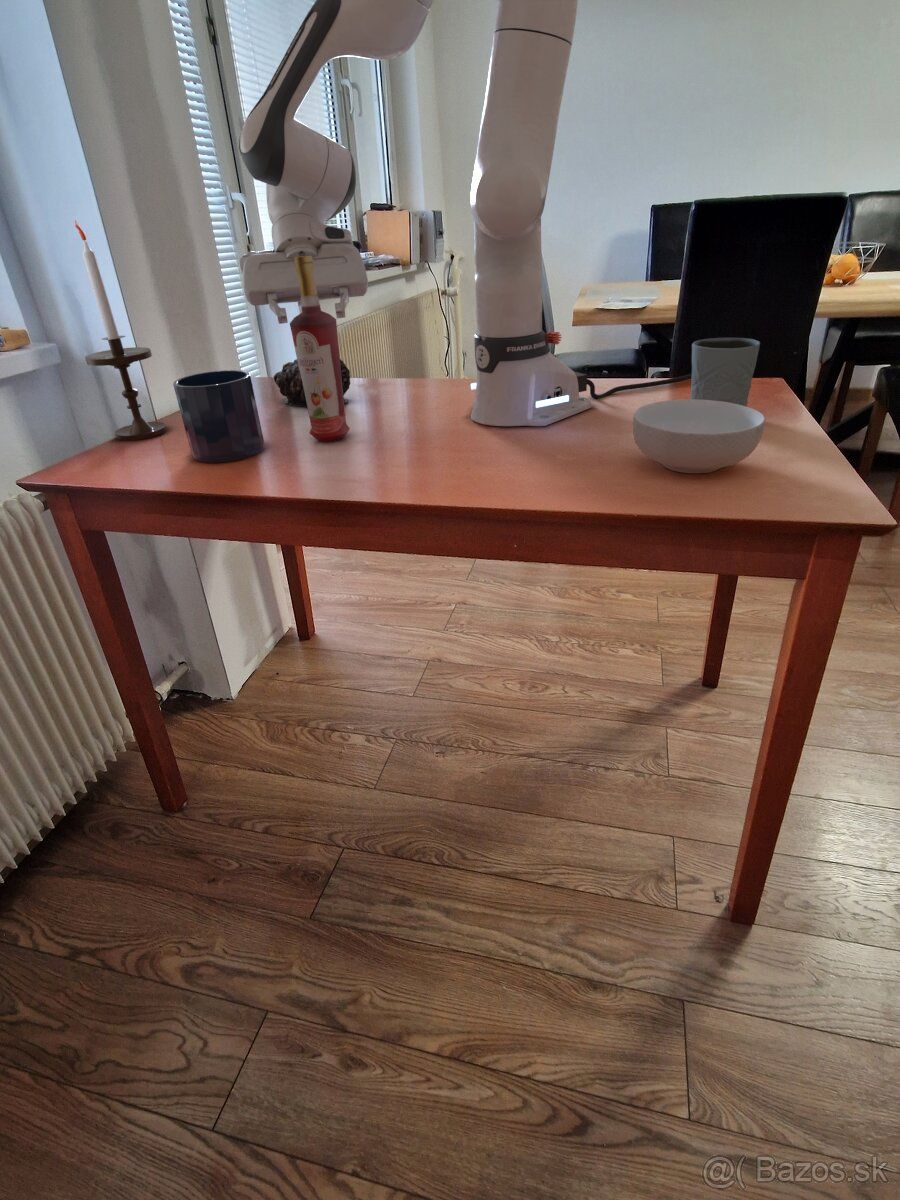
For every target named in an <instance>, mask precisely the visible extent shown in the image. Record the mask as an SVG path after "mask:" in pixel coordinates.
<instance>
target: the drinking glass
mask: <svg viewBox="0 0 900 1200" xmlns="http://www.w3.org/2000/svg"><path fill="white" fill-rule="evenodd" d="M760 345H761V342H760V341H759V340H756V339H754V338H747V337H746V338H745V337H713V338H712V337H711V338H704V339H698V340H695V341H693V342H692V344H691V374H692V379H691V383H690V384H691V385H690V387H691V390H690V399H698V400H712V401H721V402H728V403H733V404H738V405H742V406H746V407H748V399H749V396H750V390H751V389H752V380H753V377H754V373H755V369H756V365H757V361H758V355H759V351H760V348H761V347H760Z"/></svg>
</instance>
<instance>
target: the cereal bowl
mask: <svg viewBox="0 0 900 1200" xmlns="http://www.w3.org/2000/svg"><path fill="white" fill-rule="evenodd" d="M765 424H766V417H765V415H764V414H763V413H762V412H760V411H758V410H757V409H754V408H752V407H748V406H747V407H746V406H742V405H738V404H733V403H728V402H721V401H712V400H698V399H691V398H690V399H689V398H688V399H687V398H686V399H683V398H682V399H670V400H662V401H661V400H660V401H655V402H652V403H648V404H644V405H642V406H640V407H639V408H638V409H636V410H635V412H634V413H633V417H632V435H633V440H634V443H635V444H636V446H637V448H638V449H639V450H640V451H641V453H642V454H644V456H646V457H647V458H649V459H651V460H652V461H654V462H657V463H659V464H661V465H662V466H663V467H664V468H666V469H667V470H670V471H673V472H676V473H677V472H678V473H681V474H682V473H684V474H706V473H707V474H708V473H712V472H715V471H718V470H719V469H722V468H726V467H730V466H732V465H736V464H738V463H740V462H741V461H743V460H745V459H746V458H748V457H749V456H750V455H751V454H752V453H753V452H754V451H755V450H756V448H757V447H758V445H759V443H760V442H761V439H762V436H763V434H764V429H765Z"/></svg>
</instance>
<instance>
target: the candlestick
mask: <svg viewBox="0 0 900 1200" xmlns="http://www.w3.org/2000/svg"><path fill="white" fill-rule="evenodd" d="M74 223H75V225H74V226H75V228H76V230H77V231H78V234H79V235H80V238H81V240H82V241H83V242H82V243H83V251H82V252H81V255H82V258H83V261H84V264H85V268H86V270H87V274H88V277H89V278H88V279H89V281H90V284H91V287H92V291H93V294H94V297H95V300H96V303H97V308H98V311H99V313H100V317H101V320H102V323H103V327H104V331H105V332H106V337H102V338H101V340H102V341H107V342H108V346H109V349H106V350H102V351H98V352H94V353H90V354H88V355H86V356H84V359H85V363H86V364H87V365H88V366H93V367H94V366H95V367H96V366H97V367H100V366H101V367H102V366H103V367H105V366H109V367H113V369H115V370H116V369H117V370H118V372H119V374H120V377H121V380H122V381H121V382H122V384H123V387H124V389H123V390H122V391H121V395H122V396H123V397H124V399H126V400H127V403H128V405H127V406H126V409H128V410H130V411H131V414H132V417H133V419H132V421H131V424H129V425H125V426H123V427H120V428H118V429H117V430H115V431H114V435H115V438H116V439H117V440H118V441H128V442H129V441H130V442H131V441H140V440H141V441H142V440H146V439H151V438H155V437H158V436H161V435H163V434H165V433H166V432H167V431H168V427H167V423H166V422H163V421H146V420H145V419H144V418H143V417H142V415H141V414H142V413H141V411H140V408H142V404H141V403H138V399H137V398H138V397H139V391H138V389H137V388H134V387H133V384H132V381H131V378H130V374H129V371H128V368H130V367H131V364H134V362H136V363H137V362H140V361H143V360H147V359H150V358H152V357H153V353H152V350H151V348H149V347H146V346H145V347H143V346H142V347H141V346H137V347H135V346H134V347H124V346H123V343H122V339H124V338H126V337H127V336H126V335H119V332H118V331H119V330H118V328H117V324H116V321H115V317H114V314H113V311H112V308H111V304H110V300H109V298H108V294H107V291H106V290H107V289H106V288H105V283H104V280H103V277H102V273H101V270H100V267H99V264H98V260H97V257H96V254H95V251H93V250H92V249H91V248H90V246H89V244H88V241H87V236H86V233H85V231H84V229H82V227H81V226H80V225H79V224H78V222H77V220H76V219H75V220H74Z"/></svg>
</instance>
